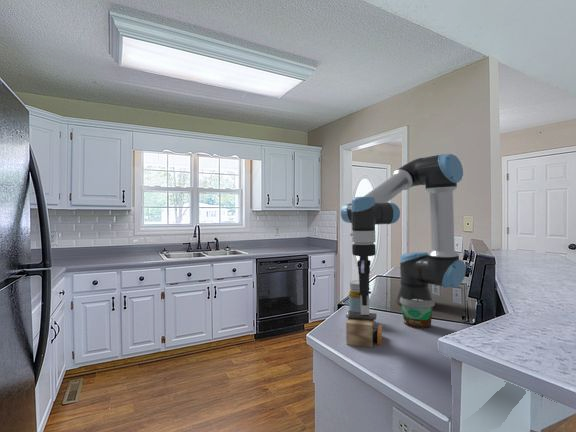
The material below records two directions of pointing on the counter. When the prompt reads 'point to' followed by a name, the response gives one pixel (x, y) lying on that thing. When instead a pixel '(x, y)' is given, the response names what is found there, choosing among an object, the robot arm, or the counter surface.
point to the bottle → (354, 297)
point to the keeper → (358, 315)
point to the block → (360, 332)
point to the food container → (417, 312)
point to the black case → (377, 334)
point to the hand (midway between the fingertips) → (365, 314)
